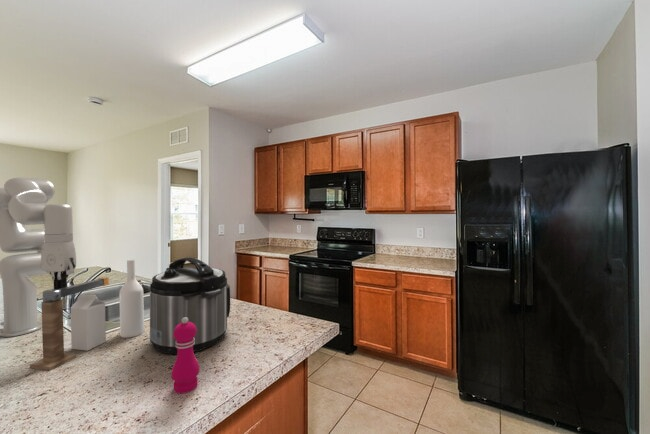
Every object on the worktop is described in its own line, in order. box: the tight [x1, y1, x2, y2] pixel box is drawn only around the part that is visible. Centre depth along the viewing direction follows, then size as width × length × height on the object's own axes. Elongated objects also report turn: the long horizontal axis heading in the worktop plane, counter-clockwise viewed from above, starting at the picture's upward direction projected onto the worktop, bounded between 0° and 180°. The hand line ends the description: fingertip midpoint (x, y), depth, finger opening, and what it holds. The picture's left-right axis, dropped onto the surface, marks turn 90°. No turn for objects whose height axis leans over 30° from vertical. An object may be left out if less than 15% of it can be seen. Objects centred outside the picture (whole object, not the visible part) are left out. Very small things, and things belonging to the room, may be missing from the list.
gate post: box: [29, 298, 77, 371], centre depth 96 cm, size 8×8×20 cm
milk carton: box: [70, 293, 107, 352], centre depth 108 cm, size 7×7×19 cm
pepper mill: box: [170, 317, 200, 394], centre depth 83 cm, size 7×7×20 cm
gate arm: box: [42, 276, 110, 302], centre depth 104 cm, size 21×4×3 cm, turn 170°
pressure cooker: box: [149, 257, 231, 355], centre depth 113 cm, size 30×28×32 cm
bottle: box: [118, 258, 145, 338], centre depth 118 cm, size 8×8×30 cm
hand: (60, 289), depth 105 cm, fingers closed
